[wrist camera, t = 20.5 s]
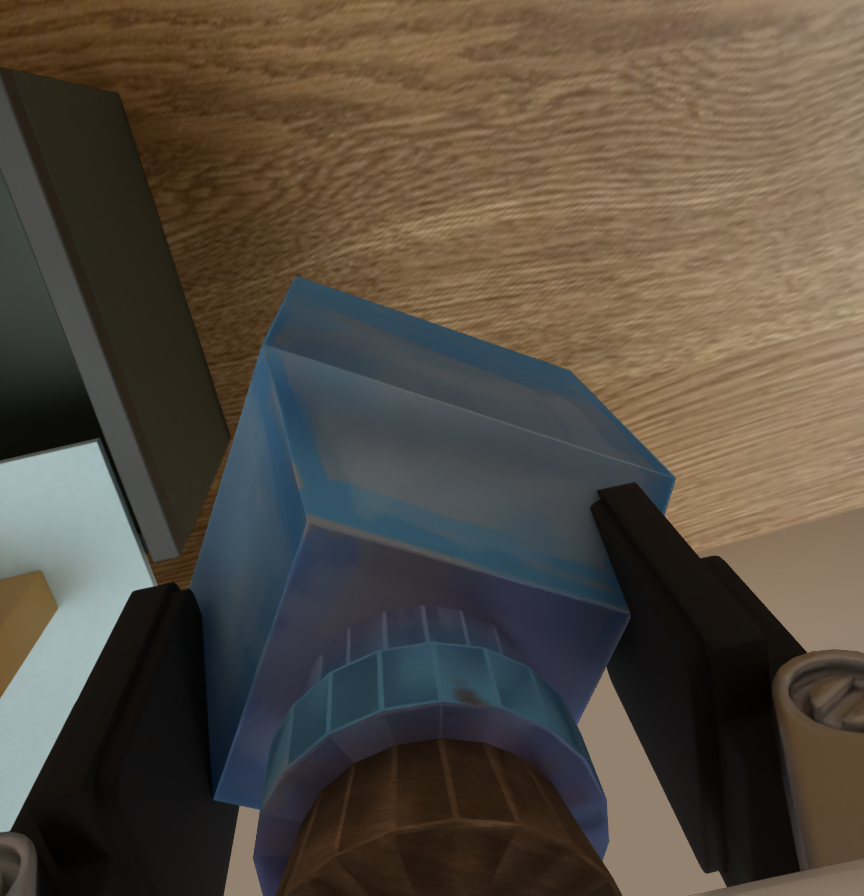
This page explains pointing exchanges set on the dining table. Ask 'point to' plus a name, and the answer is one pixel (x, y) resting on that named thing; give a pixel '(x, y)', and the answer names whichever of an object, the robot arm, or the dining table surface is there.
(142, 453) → the display box
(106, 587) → the box lid
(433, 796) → the perfume bottle
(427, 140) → the dining table surface
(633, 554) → the robot arm
